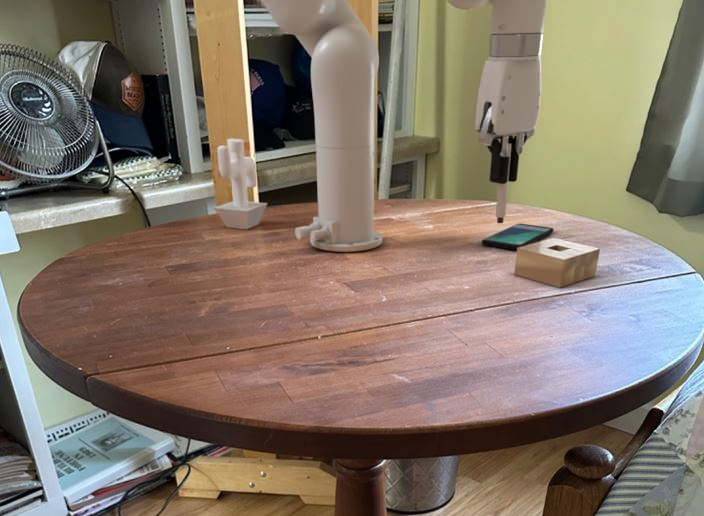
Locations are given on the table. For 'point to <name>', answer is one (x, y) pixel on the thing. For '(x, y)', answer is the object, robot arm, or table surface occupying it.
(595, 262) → the pen stand
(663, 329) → the table surface
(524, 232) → the smartphone
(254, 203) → the figurine
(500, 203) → the white rod
